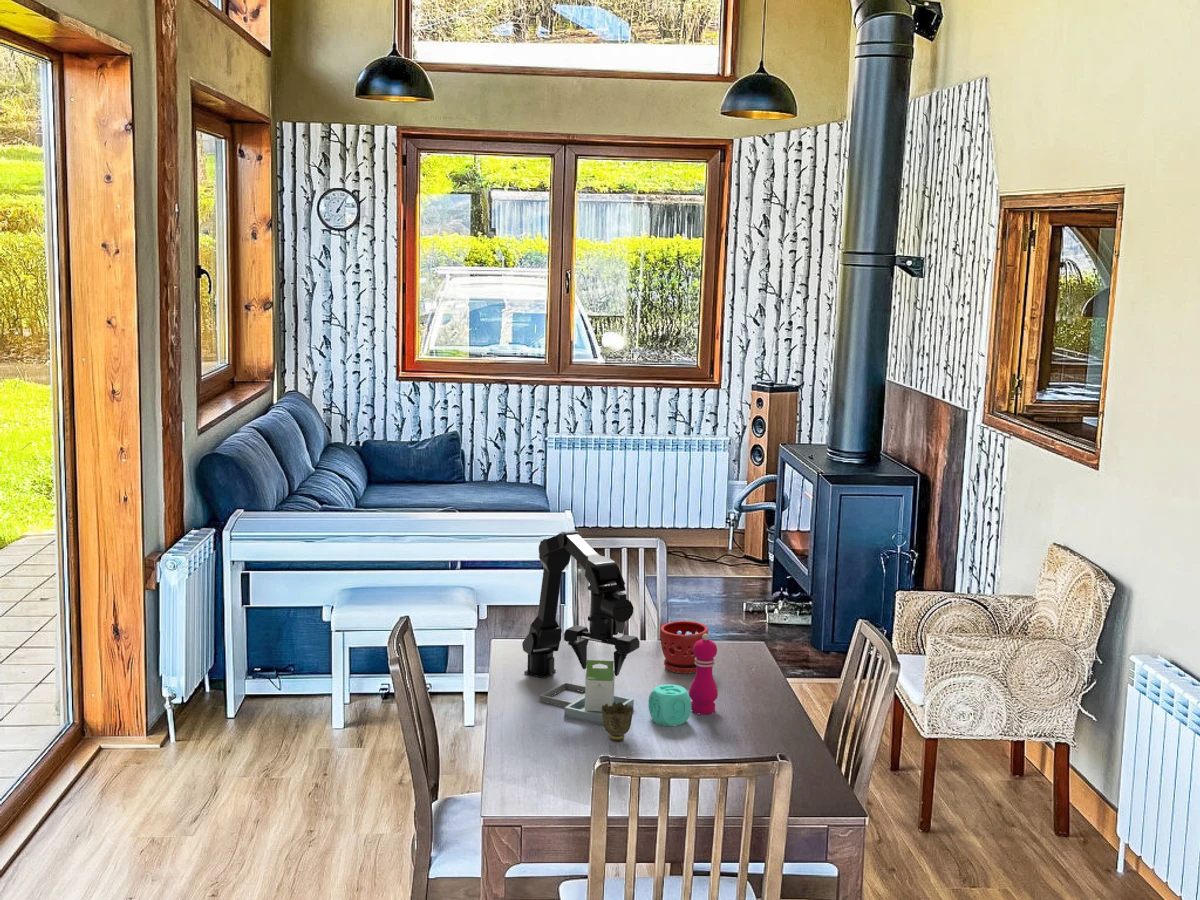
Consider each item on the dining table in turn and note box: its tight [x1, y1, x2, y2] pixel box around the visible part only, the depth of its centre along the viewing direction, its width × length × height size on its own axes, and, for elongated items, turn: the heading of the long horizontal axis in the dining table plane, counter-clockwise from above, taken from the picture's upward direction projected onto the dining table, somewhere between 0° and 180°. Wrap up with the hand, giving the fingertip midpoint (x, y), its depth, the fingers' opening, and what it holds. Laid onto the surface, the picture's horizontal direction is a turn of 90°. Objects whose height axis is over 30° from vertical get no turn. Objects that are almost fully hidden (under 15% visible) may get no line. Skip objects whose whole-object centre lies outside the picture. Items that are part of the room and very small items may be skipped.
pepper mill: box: [688, 633, 719, 715], centre depth 321 cm, size 7×7×20 cm
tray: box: [563, 694, 635, 727], centre depth 318 cm, size 12×15×2 cm
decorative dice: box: [648, 683, 692, 727], centre depth 314 cm, size 8×8×8 cm
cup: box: [602, 702, 634, 743], centre depth 301 cm, size 8×7×8 cm
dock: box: [539, 681, 585, 707], centre depth 328 cm, size 10×13×2 cm
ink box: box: [584, 659, 616, 712], centre depth 317 cm, size 7×4×13 cm, turn 84°
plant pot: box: [659, 620, 709, 675], centre depth 352 cm, size 13×13×12 cm
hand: (600, 672), depth 317 cm, fingers open, 9 cm apart
